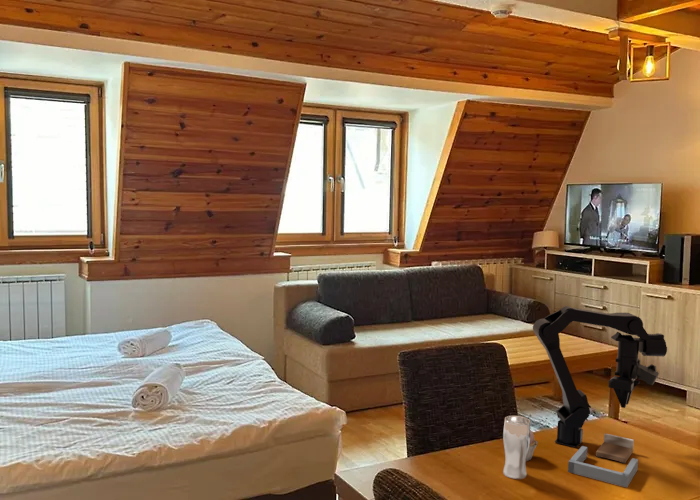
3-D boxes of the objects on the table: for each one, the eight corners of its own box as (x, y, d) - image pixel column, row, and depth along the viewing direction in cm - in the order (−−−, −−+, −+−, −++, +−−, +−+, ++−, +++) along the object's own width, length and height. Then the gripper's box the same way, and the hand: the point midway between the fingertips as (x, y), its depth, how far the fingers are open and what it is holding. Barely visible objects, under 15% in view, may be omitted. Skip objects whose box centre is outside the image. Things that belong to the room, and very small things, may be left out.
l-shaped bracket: (595, 456, 180) (596, 443, 180) (604, 446, 189) (605, 433, 188) (625, 464, 176) (626, 450, 176) (632, 452, 184) (633, 439, 184)
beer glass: (513, 482, 163) (516, 426, 162) (496, 471, 169) (498, 417, 168) (533, 477, 166) (536, 422, 165) (515, 466, 172) (518, 413, 171)
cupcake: (521, 448, 185) (523, 415, 184) (543, 460, 177) (545, 426, 176) (496, 453, 181) (497, 419, 180) (517, 466, 173) (519, 430, 172)
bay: (567, 471, 170) (568, 461, 170) (581, 455, 181) (582, 445, 181) (627, 487, 161) (627, 476, 161) (637, 469, 172) (638, 459, 172)
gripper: (651, 366, 176) (647, 420, 177) (662, 353, 191) (659, 403, 192) (609, 359, 182) (606, 411, 184) (623, 348, 197) (620, 396, 199)
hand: (624, 405), depth 189 cm, fingers open, 4 cm apart
